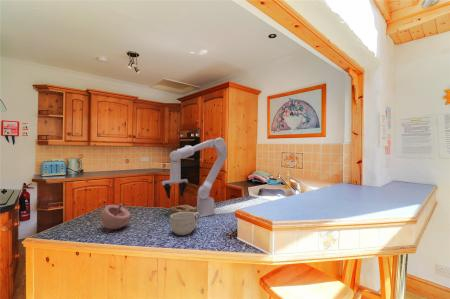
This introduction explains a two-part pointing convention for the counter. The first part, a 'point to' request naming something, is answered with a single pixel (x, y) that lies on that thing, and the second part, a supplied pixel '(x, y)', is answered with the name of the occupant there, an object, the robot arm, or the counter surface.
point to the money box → (183, 209)
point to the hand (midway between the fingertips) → (175, 196)
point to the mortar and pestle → (115, 216)
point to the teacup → (184, 222)
